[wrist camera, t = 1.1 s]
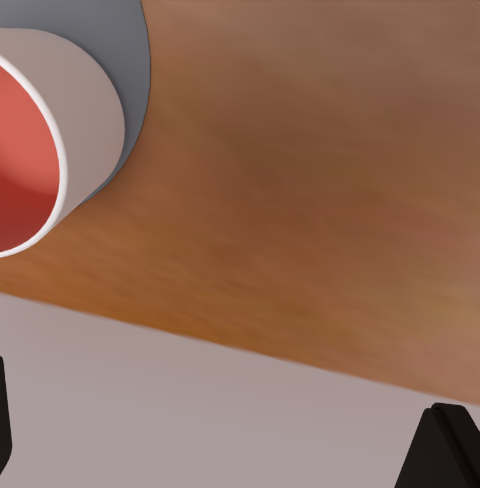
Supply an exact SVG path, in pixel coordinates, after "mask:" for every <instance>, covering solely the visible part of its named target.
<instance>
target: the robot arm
mask: <svg viewBox="0 0 480 488" xmlns="http://www.w3.org/2000/svg"><path fill="white" fill-rule="evenodd" d="M11 451H12V438H11V429H10V419H9V411H8V400H7V392H6V382H5V372H4V363H3V358H2V357H1V356H0V474H1V473H2V471H3V469H4V468H5V466H6V464H7V462H8V460H9V458H10V455H11ZM394 488H480V431H479V430H478V428H477V426H476V425H475V423H474V421H473V419H472V418H471V416H470V415H469V413H468V411H467V410H466V408H465V407H463V406H461V405H454V404H445V403H435V404H433V405H432V407H431V408H427V409H425V410H424V412H423V414H422V417H421V419H420V422H419V425H418V427H417V430H416V433H415V435H414V438H413V440H412V443H411V446H410V448H409V451H408V453H407V456H406V459H405V461H404V464H403V466H402V469H401V472H400V474H399V477H398V479H397V482H396V485H395V487H394Z"/></svg>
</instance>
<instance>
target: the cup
mask: <svg viewBox="0 0 480 488" xmlns="http://www.w3.org/2000/svg"><path fill="white" fill-rule="evenodd" d="M124 134H125V124H124V115H123V111H122V106H121V103H120V100H119V97H118V95H117V92H116V90H115V88H114V86H113V84H112V82H111V81H110V79H109V77H108V76H107V74H106V73H105V72H104V70H103V69H102V68H101V67H100V65H99V64H98V63H97V62H96V61H95V60H94V59H93V58H92V57H91V56H90V55H89V54H88V53H86V52H85V51H84V50H83V49H81V48H80V47H78V46H77V45H75V44H74V43H72V42H70V41H69V40H67V39H65V38H62V37H60V36H58V35H55V34H52V33H49V32H46V31H41V30H36V29H21V28H0V257H4V256H8V255H12V254H15V253H18V252H20V251H22V250H25V249H27V248H28V247H30V246H32V245H33V244H35V243H36V242H38V241H39V240H40V239H41V238H43V237H44V236H45V235H46V234H47V233H48V232H49V231H50V230H51V229H52V228H54V227H55V226H56V225H57V224H58V223H59V222H60V221H61V220H62V219H64V218H65V217H66V216H67V215H68V214H69V213H70V212H71V211H72V210H73V209H75V208H76V207H77V206H78V205H79V204H80V203H81V202H82V201H83V200H85V199H86V198H87V197H88V196H89V195H90V194H91V193H92V192H93V191H94V190H96V189H97V188H98V187H99V186H100V185H101V184H102V183H103V182H104V181H105V180H106V179H107V178H108V177H109V176H110V174H111V173H112V171H113V170H114V168H115V166H116V165H117V163H118V160H119V158H120V155H121V152H122V148H123V143H124Z"/></svg>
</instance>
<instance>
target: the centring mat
mask: <svg viewBox="0 0 480 488" xmlns="http://www.w3.org/2000/svg"><path fill="white" fill-rule="evenodd" d="M0 28H21V29H36V30H41V31H46V32H49V33H52V34H55V35H58V36H60V37H62V38H65V39H67V40H69V41H70V42H72V43H74V44H75V45H77V46H78V47H80V48H81V49H83V50H84V51H85V52H86V53H88V54H89V55H90V56H91V57H92V58H93V59H94V60H95V61H96V62H97V63H98V64H99V65H100V67H101V68H102V69H103V70H104V72H105V73H106V74H107V76H108V77H109V79H110V81H111V82H112V84H113V86H114V88H115V90H116V92H117V95H118V97H119V100H120V103H121V106H122V111H123V115H124V124H125V134H124V143H123V148H122V152H121V155H120V158H119V160H118V163H117V165H116V166H115V168H114V170H113V171H112V173H111V174H110V176H109V177H108V178H107V179H106V180H105V181H104V182H103V183H102V184H101V185H100V186H99V187H98V188H97V189H96V190H94V191H93V192H92V193H91V194H90V195H89V196H88V197H87V198H86V199H85V200H83V201H82V202H81V203H80V204H82V203H84V202H85V201H87V200H88V199H90V198H91V197H93V196H94V195H95V194H96V193H98V192H99V191H100V190H101V189H102V188H103V187H104V186H106V185H107V184H108V183H109V182H110V181H111V179H112V178H113V177H114V176H115V175H116V173H117V172H118V171H119V170H120V169H121V167H122V166H123V164H124V163H125V161H126V159H127V158H128V156H129V154H130V153H131V151H132V150H133V147H134V145H135V143H136V140H137V138H138V135H139V133H140V131H141V128H142V124H143V120H144V117H145V113H146V109H147V104H148V96H149V89H150V50H149V41H148V32H147V27H146V23H145V18H144V14H143V10H142V5H141V2H140V0H0ZM80 204H79V205H80ZM79 205H78V206H79Z"/></svg>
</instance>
